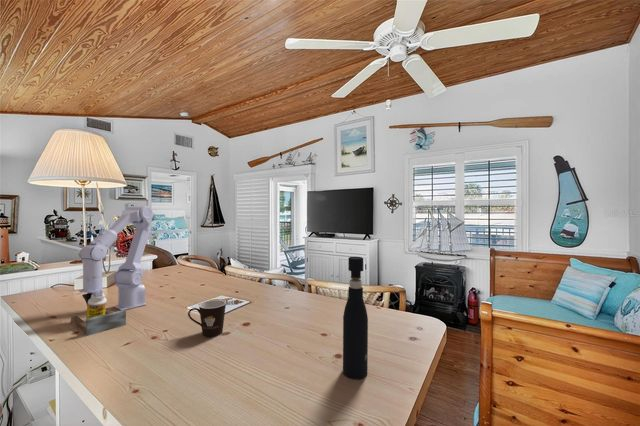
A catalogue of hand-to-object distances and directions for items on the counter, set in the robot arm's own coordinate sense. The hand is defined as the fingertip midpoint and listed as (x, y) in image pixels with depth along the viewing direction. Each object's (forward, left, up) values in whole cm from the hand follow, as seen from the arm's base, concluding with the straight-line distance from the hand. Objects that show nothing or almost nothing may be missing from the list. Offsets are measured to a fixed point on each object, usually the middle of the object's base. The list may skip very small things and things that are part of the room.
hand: (92, 312), depth 107 cm
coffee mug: (-20, +45, -3) cm, 50 cm away
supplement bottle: (0, +3, -2) cm, 4 cm away
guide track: (0, +5, -3) cm, 6 cm away
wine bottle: (-29, +97, -3) cm, 102 cm away
